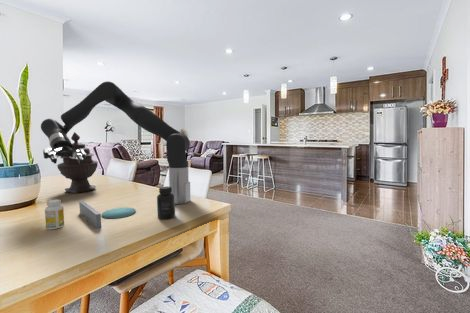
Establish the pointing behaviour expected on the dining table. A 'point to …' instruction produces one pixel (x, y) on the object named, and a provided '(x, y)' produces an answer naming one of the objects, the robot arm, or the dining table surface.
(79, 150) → the robot arm
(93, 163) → the decorative urn
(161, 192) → the supplement bottle
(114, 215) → the teal mat
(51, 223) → the supplement bottle
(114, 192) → the dining table surface
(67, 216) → the dining table surface
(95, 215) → the gray wall
